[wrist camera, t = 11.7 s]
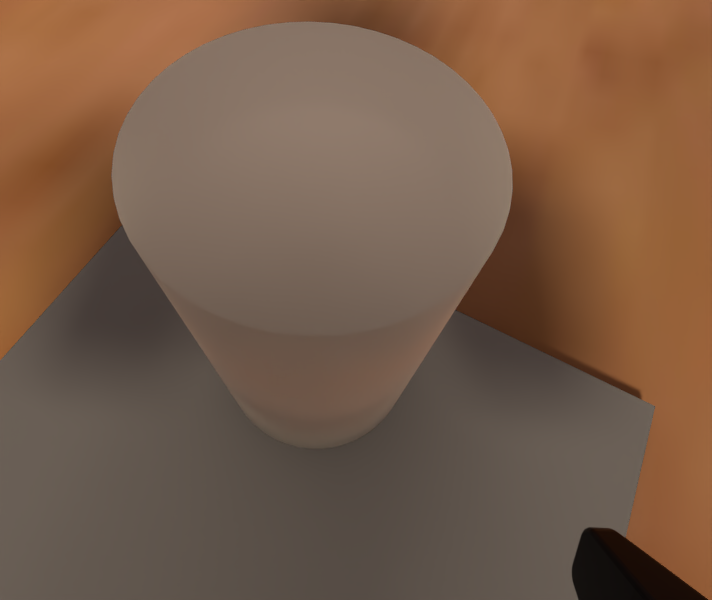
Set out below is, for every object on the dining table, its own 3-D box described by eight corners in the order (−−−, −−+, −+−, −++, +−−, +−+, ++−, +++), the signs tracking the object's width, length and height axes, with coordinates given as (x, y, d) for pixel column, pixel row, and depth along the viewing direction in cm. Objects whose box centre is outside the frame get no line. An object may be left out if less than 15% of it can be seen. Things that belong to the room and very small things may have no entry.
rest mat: (491, 1057, 10) (501, 1086, 10) (-180, 582, 13) (-201, 584, 13) (644, 410, 17) (654, 406, 16) (173, 181, 20) (169, 172, 19)
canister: (440, 382, 16) (593, 205, 7) (288, 488, 14) (238, 431, 5) (342, 253, 18) (366, -16, 9) (196, 333, 16) (48, 99, 7)
